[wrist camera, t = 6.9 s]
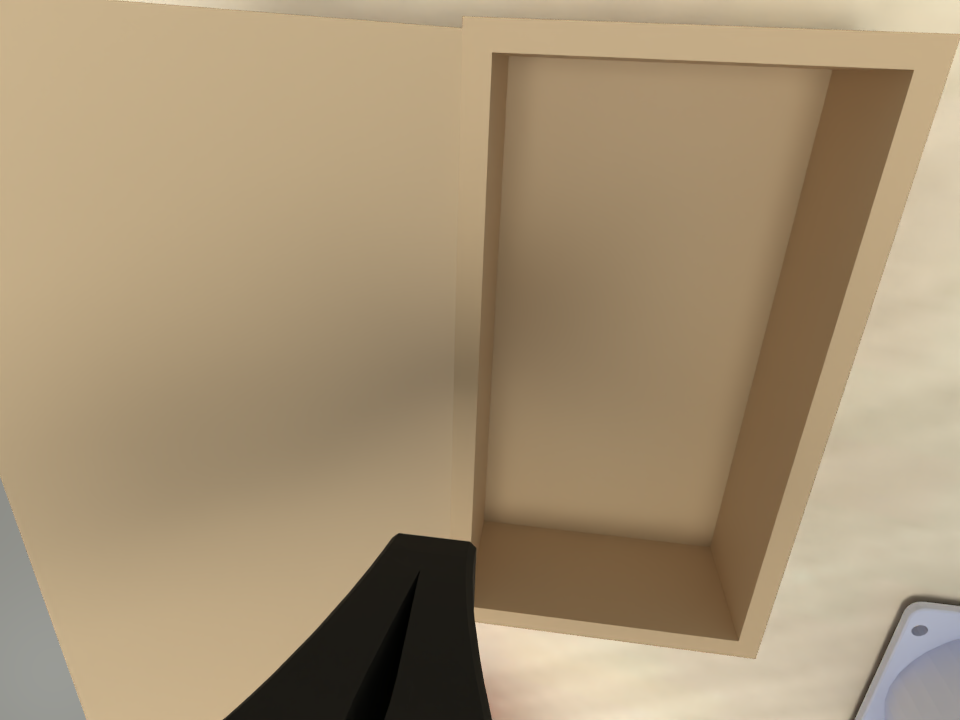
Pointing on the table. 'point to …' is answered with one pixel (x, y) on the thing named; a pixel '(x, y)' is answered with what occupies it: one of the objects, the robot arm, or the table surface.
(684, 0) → the table surface
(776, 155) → the kraft box
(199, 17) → the lid flap
